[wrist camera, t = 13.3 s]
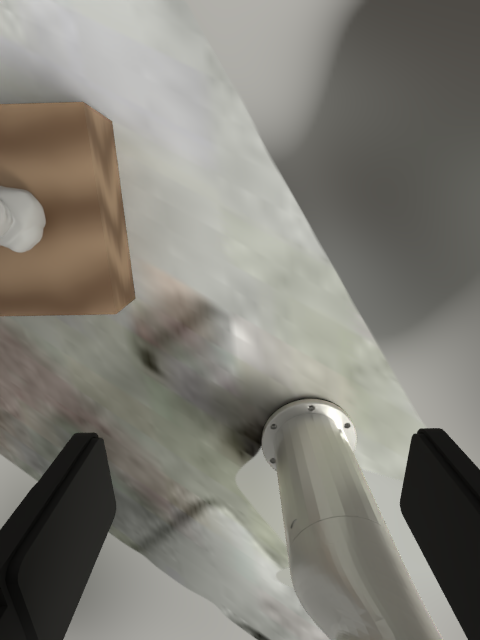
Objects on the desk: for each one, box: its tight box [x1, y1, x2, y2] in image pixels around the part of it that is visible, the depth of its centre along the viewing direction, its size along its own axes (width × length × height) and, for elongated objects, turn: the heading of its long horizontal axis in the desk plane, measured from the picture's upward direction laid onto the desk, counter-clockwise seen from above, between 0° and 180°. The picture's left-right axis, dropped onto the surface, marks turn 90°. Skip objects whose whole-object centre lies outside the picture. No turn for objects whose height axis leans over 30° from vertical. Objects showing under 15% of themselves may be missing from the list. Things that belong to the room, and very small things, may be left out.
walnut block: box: [0, 102, 135, 316], centre depth 32 cm, size 18×14×6 cm
